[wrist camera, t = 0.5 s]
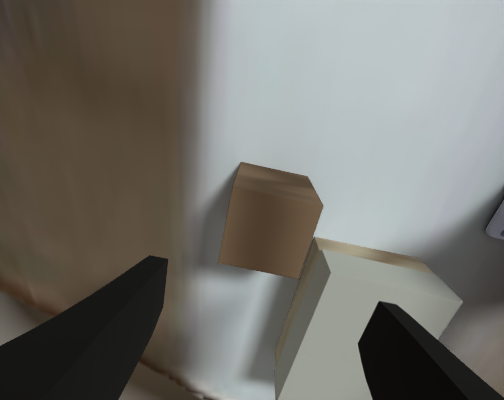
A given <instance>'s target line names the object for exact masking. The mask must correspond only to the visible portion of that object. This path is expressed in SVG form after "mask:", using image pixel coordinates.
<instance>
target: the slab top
mask: <svg viewBox="0 0 504 400" xmlns="http://www.w3.org/2000/svg"><path fill="white" fill-rule="evenodd" d="M379 301H383V302H388V303H393V304H397V305H398V306H399V307H400V308H402V309H403V310H404V311H405V312H407V313H408V314H409V315H410V316H411V317H412V318H414V319H415V320H416V321H417V322H418V323H419V324H420V325H422V326H423V327H424V328H425V329H426V330H427V331H428V332H429V333H430V334H431V335H433V336H434V337H435V338H436V339H437V340H438V338H439V337H440V335H441V334H442V333H443V331H444V330H445V328H446V327H447V325H448V324H449V322H450V321H451V319H452V318H453V316H454V315H455V313H456V312H457V310H458V309H459V307H460V306H461V304H462V303H463V301H462V300H461V299H460V298H459V297H458V296H457V295H456V294H455V293H454V292H453V291H452V290H451V289H450V288H449V287H448V286H447V285H446V284H445V283H444V282H443V281H442V280H441V279H440V278H439V277H438V276H437V275H435V274H431V273H426V272H422V271H417V270H413V269H409V268H404V267H400V266H395V265H391V264H386V263H382V262H378V261H373V260H369V259H364V258H360V257H355V256H351V255H347V254H342V253H338V252H333V251H329V250H324V249H322V250H321V252H320V255H319V258H318V260H317V263H316V265H315V268H314V270H313V273H312V276H311V278H310V281H309V283H308V286H307V289H306V291H305V294H304V296H303V299H302V301H301V304H300V307H299V309H298V312H297V314H296V317H295V320H294V322H293V325H292V327H291V330H290V333H289V335H288V338H287V340H286V343H285V345H284V348H283V351H282V353H281V356H280V358H279V361H278V364H277V366H276V369H275V371H274V376H275V400H373V399H372V396H371V393H370V391H369V388H368V385H367V382H366V379H365V375H364V371H363V367H362V363H361V358H360V353H359V348H358V342H359V340H360V338H361V336H362V334H363V332H364V330H365V328H366V326H367V324H368V322H369V320H370V318H371V316H372V314H373V312H374V310H375V308H376V306H377V304H378V302H379Z"/></svg>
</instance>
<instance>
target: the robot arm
mask: <svg viewBox="0 0 504 400" xmlns="http://www.w3.org/2000/svg"><path fill="white" fill-rule="evenodd" d="M503 230H504V200H503V202H502V203H501V205H500V207H499V208H498V210H497V211H496V213H495V215H494V216H493V218H492V220H491V221H490V223H489V224H488V226H487V228H486V234H487V235H489V236H491V237H493V238H497V239H502V240H504V231H503ZM502 231H503V232H502ZM501 232H502V233H501ZM167 265H168V259H165V258H160V257H155V256H148V257H146V258H145V259H143V260H142V261H141V262H139V263H138V264H136V265H135V266H133V267H132V268H130V269H129V270H128V271H126V272H125V273H123V274H122V275H120V276H119V277H117V278H116V279H115V280H113V281H111V282H110V283H108V284H107V285H105V286H104V287H102V288H101V289H99V290H98V291H96V292H95V293H93V294H92V295H90V296H89V297H87V298H85V299H84V300H82V301H80V302H79V303H77V304H75V305H74V306H72V307H70V308H69V309H67V310H65V311H64V312H62V313H60V314H59V315H57V316H55V317H54V318H52V319H50V320H49V321H46V322H45V323H43V324H41V325H39V326H38V327H36V328H34V329H32V330H30V331H28V332H26V333H24V334H22V335H21V336H19V337H17V338H15V339H13V340H11V341H9V342H7V343H5V344H3V345H1V346H0V400H118V399H119V397H120V395H121V393H122V391H123V390H124V388H125V386H126V384H127V382H128V380H129V378H130V376H131V375H132V373H133V371H134V369H135V367H136V365H137V363H138V361H139V359H140V358H141V356H142V354H143V352H144V350H145V348H146V346H147V344H148V342H149V340H150V338H151V336H152V334H153V331H154V329H155V326H156V324H157V321H158V319H159V316H160V314H161V311H162V308H163V304H164V294H165V284H166V275H167ZM358 348H359V353H360V358H361V363H362V367H363V371H364V375H365V379H366V382H367V385H368V388H369V391H370V393H371V396H372V399H373V400H504V398H503V397H502V396H501V395H500V394H499V393H497V392H496V391H495V390H494V389H493V388H492V387H490V386H489V385H488V384H487V383H486V382H484V381H483V380H482V379H481V378H480V377H479V376H477V375H476V374H475V373H474V372H473V371H472V370H471V369H469V368H468V367H467V366H466V365H465V364H464V363H463V362H462V361H460V360H459V359H458V358H457V357H456V356H455V355H454V354H453V353H451V352H450V351H449V350H448V349H447V348H446V347H445V346H444V345H443V344H441V343H440V342H439V341H438V340H437V339H436V338H435V337H434V336H433V335H431V334H430V333H429V332H428V331H427V330H426V329H425V328H424V327H423V326H422V325H420V324H419V323H418V322H417V321H416V320H415V319H414V318H412V317H411V316H410V315H409V314H408V313H407V312H405V311H404V310H403V309H402V308H400V307H399V306H398V305H397V304H393V303H388V302H383V301H379V302H378V304H377V306H376V308H375V310H374V312H373V314H372V316H371V318H370V320H369V322H368V324H367V326H366V328H365V330H364V332H363V334H362V336H361V338H360V340H359V342H358Z"/></svg>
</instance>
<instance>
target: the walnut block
mask: <svg viewBox="0 0 504 400" xmlns="http://www.w3.org/2000/svg"><path fill="white" fill-rule="evenodd" d="M322 209H323V204H322V202H321V200H320V198H319V196H318V195H317V193H316V191H315V189H314V187H313V185H312V183H311V182H310V180H309V178H308V176H303V175H299V174H294V173H289V172H285V171H280V170H276V169H271V168H266V167H262V166H257V165H253V164H248V163H244V162H241V164H240V167H239V170H238V173H237V176H236V179H235V182H234V185H233V188H232V194H231V199H230V204H229V209H228V214H227V219H226V224H225V229H224V234H223V239H222V245H221V250H220V255H219V260H218V263H221V264H226V265H231V266H236V267H241V268H246V269H251V270H256V271H261V272H266V273H271V274H276V275H281V276H285V277H290V278H295V279H298V278H299V275H300V273H301V270H302V267H303V264H304V261H305V258H306V255H307V252H308V249H309V246H310V243H311V241H312V238H313V235H314V232H315V229H316V226H317V223H318V220H319V217H320V214H321V211H322Z"/></svg>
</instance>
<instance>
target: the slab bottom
mask: <svg viewBox="0 0 504 400" xmlns="http://www.w3.org/2000/svg"><path fill="white" fill-rule="evenodd" d="M322 249H324V250H329V251H333V252H338V253H342V254H347V255H351V256H355V257H360V258H364V259H369V260H373V261H378V262H382V263H386V264H391V265H395V266H400V267H404V268H409V269H413V270H417V271H422V272H426V273H431V274H434V273H433V272H432V271H431V270H430V269H429V268H428V267H427V266H426V265H425V264H424V262H423V261H422V260H421V259H419V258H415V257H410V256H405V255H400V254H395V253H390V252H386V251H381V250H376V249H371V248H366V247H361V246H357V245H352V244H347V243H342V242H337V241H332V240H328V239H323V238H318V237H314V240H313V243H312V246H311V248H310V251H309V254H308V257H307V260H306V263H305V266H304V269H303V272H302V275H301V278H300V280H299V283H298V286H297V289H296V292H295V295H294V298H293V301H292V304H291V307H290V310H289V313H288V315H287V318H286V321H285V324H284V327H283V330H282V333H281V336H280V339H279V342H278V345H277V348H276V350H275V366H277V364H278V361H279V358H280V356H281V353H282V351H283V348H284V345H285V343H286V340H287V338H288V335H289V333H290V330H291V327H292V325H293V322H294V320H295V317H296V314H297V312H298V309H299V307H300V304H301V301H302V299H303V296H304V294H305V291H306V289H307V286H308V283H309V281H310V278H311V276H312V273H313V270H314V268H315V265H316V263H317V260H318V258H319V255H320V252H321V250H322Z"/></svg>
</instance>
